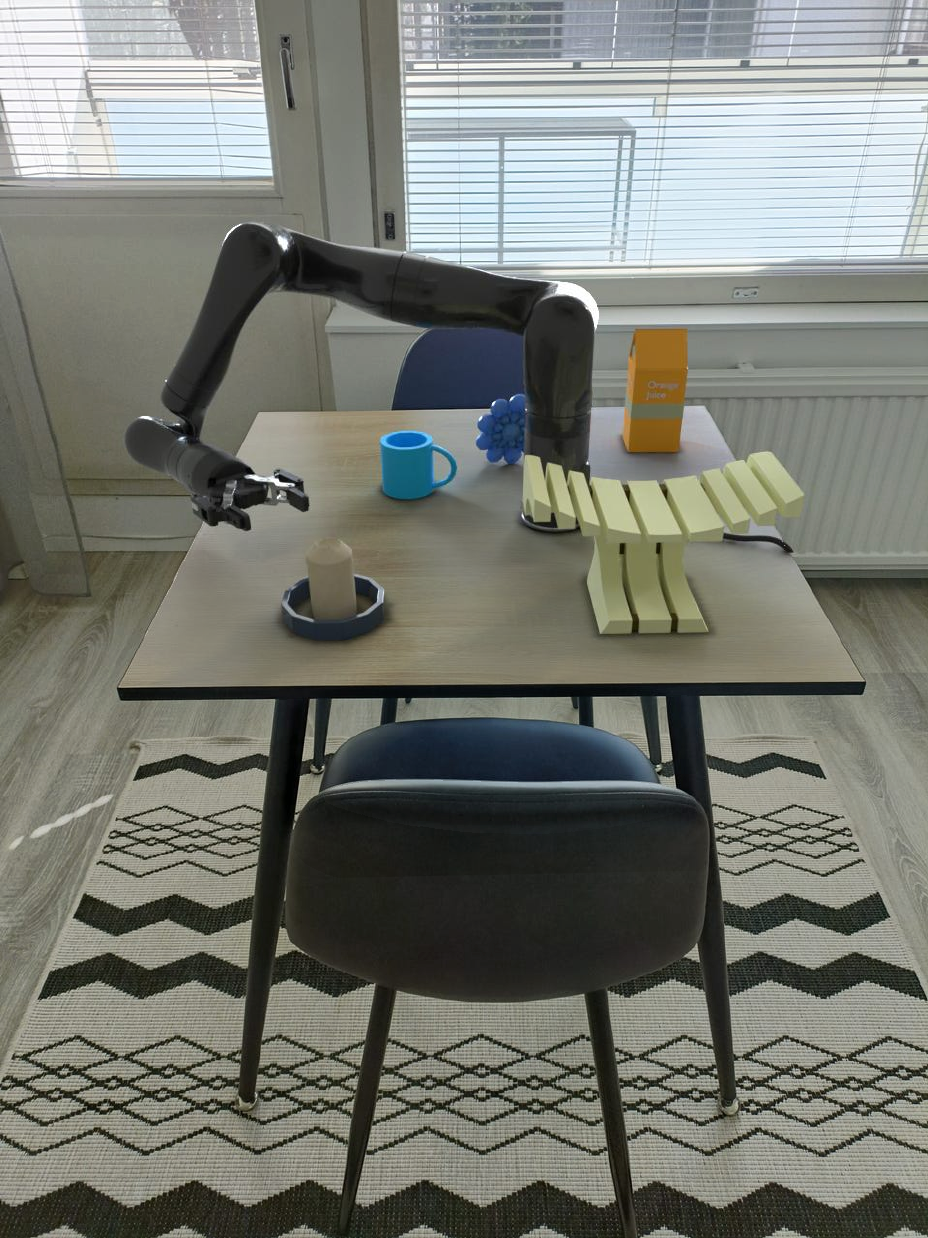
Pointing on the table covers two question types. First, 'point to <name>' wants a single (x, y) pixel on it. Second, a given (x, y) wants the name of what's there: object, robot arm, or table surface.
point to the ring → (334, 627)
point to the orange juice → (655, 390)
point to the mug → (411, 464)
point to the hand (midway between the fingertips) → (277, 514)
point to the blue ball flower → (503, 430)
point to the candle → (331, 580)
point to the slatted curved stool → (656, 531)
